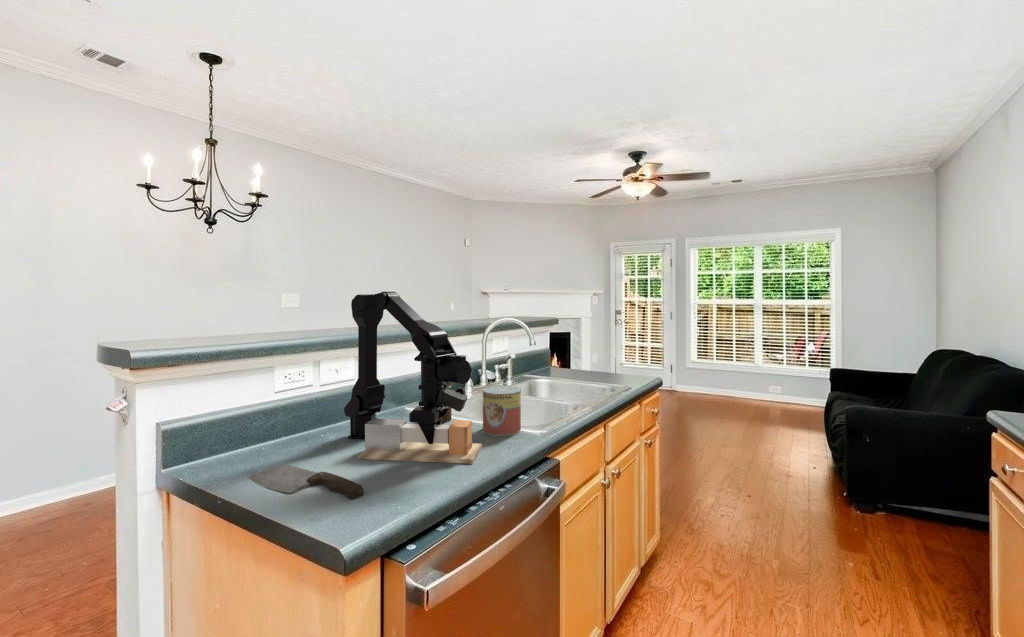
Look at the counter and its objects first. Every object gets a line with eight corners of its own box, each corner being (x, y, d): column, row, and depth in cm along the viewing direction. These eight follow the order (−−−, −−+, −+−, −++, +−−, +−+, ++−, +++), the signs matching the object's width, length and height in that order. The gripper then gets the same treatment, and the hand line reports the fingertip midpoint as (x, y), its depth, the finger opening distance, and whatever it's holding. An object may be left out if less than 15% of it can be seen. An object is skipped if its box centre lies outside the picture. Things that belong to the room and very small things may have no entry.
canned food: (476, 433, 137) (476, 392, 137) (491, 423, 148) (491, 384, 147) (513, 437, 133) (513, 395, 133) (526, 427, 144) (526, 387, 143)
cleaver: (373, 491, 98) (373, 481, 98) (335, 511, 90) (334, 499, 90) (280, 468, 112) (280, 459, 112) (239, 482, 104) (239, 473, 104)
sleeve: (365, 450, 120) (364, 424, 120) (373, 443, 125) (373, 418, 125) (400, 451, 119) (399, 425, 118) (407, 444, 124) (406, 419, 124)
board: (359, 458, 117) (359, 454, 117) (378, 443, 129) (378, 439, 128) (472, 463, 113) (472, 459, 113) (481, 447, 125) (481, 443, 125)
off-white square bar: (378, 441, 120) (378, 426, 120) (384, 436, 124) (383, 422, 124) (452, 444, 118) (452, 429, 118) (456, 439, 122) (456, 425, 121)
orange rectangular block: (449, 454, 117) (448, 426, 117) (454, 446, 123) (454, 420, 123) (467, 454, 116) (467, 427, 116) (472, 446, 122) (471, 420, 122)
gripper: (455, 388, 109) (455, 455, 110) (471, 374, 128) (472, 431, 129) (408, 386, 111) (408, 453, 112) (431, 373, 129) (431, 430, 130)
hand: (433, 441), depth 120 cm, fingers closed on off-white square bar, 4 cm apart
